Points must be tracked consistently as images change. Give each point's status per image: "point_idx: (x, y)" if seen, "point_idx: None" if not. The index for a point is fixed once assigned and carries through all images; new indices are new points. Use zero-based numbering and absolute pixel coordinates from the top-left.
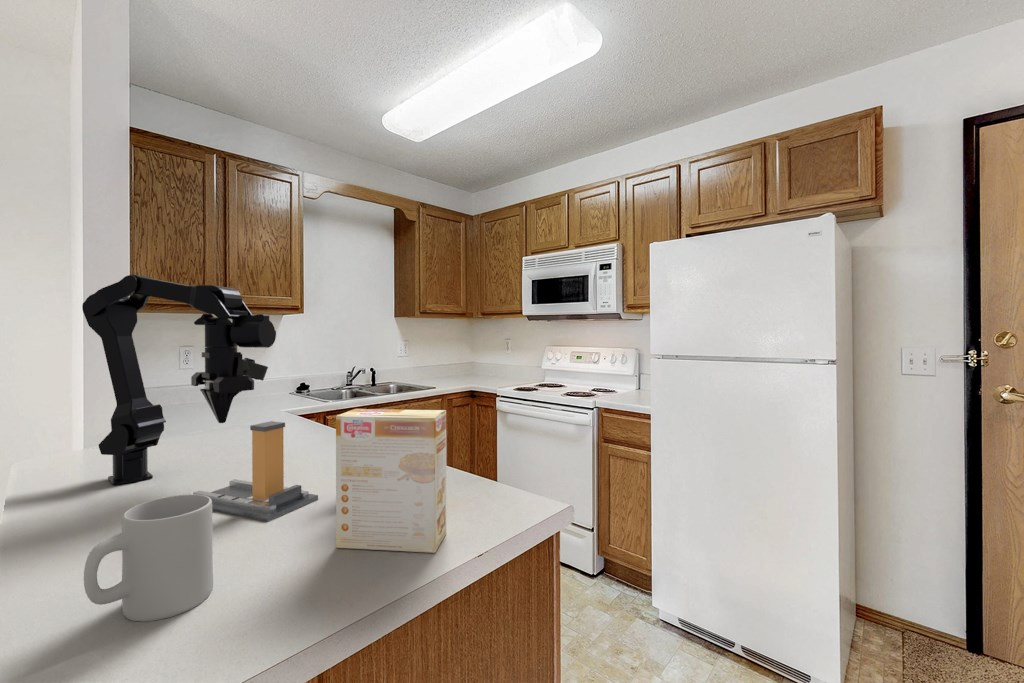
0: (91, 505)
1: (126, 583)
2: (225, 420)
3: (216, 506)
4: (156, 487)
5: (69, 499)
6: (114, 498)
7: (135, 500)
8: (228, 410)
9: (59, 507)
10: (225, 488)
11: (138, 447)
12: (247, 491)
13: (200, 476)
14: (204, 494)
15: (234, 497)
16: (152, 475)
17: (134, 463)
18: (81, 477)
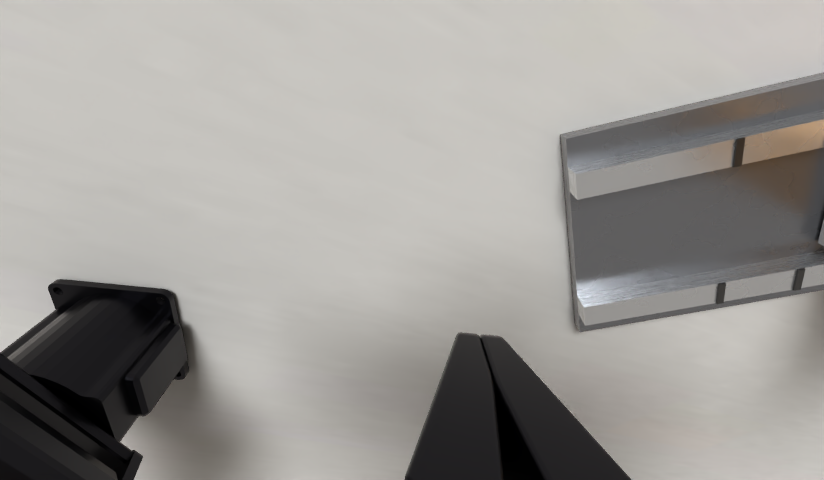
0: (353, 433)
1: None
2: (509, 349)
3: (731, 305)
4: (303, 312)
5: (254, 445)
6: (332, 397)
7: (399, 376)
8: (599, 451)
9: (311, 464)
10: (584, 213)
11: (66, 418)
12: (709, 182)
13: (263, 175)
14: (644, 314)
15: (783, 274)
16: (160, 294)
17: (150, 386)
18: None
